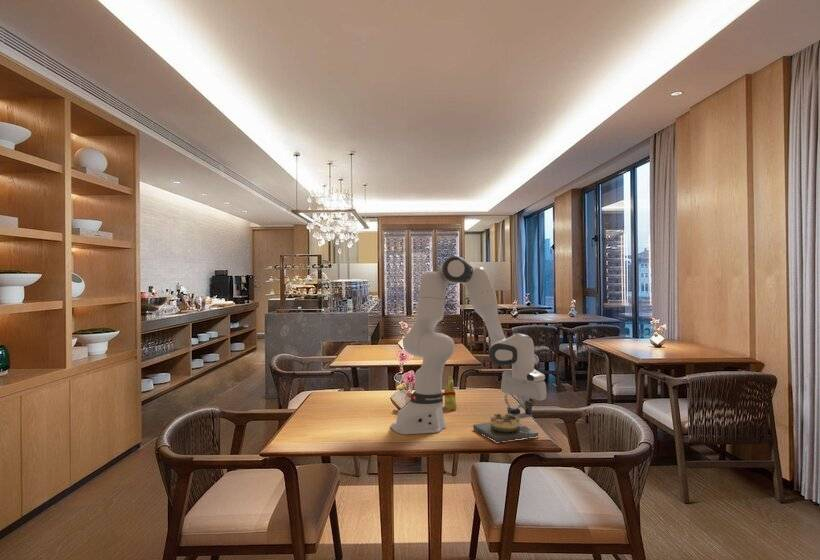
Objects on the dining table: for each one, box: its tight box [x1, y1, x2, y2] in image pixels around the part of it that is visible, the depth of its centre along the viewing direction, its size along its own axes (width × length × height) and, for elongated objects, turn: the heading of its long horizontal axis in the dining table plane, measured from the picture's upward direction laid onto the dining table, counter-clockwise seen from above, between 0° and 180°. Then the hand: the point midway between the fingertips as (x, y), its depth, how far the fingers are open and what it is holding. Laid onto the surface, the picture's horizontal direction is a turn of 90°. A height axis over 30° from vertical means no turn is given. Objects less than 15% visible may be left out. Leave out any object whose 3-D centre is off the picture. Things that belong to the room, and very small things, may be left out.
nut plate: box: [472, 421, 539, 442], centre depth 186 cm, size 18×18×2 cm
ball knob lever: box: [489, 400, 533, 432], centre depth 188 cm, size 19×11×9 cm, turn 117°
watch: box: [504, 393, 524, 415], centre depth 211 cm, size 6×8×11 cm
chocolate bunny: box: [443, 376, 457, 411], centre depth 224 cm, size 7×11×15 cm, turn 8°
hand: (522, 407), depth 194 cm, fingers closed
